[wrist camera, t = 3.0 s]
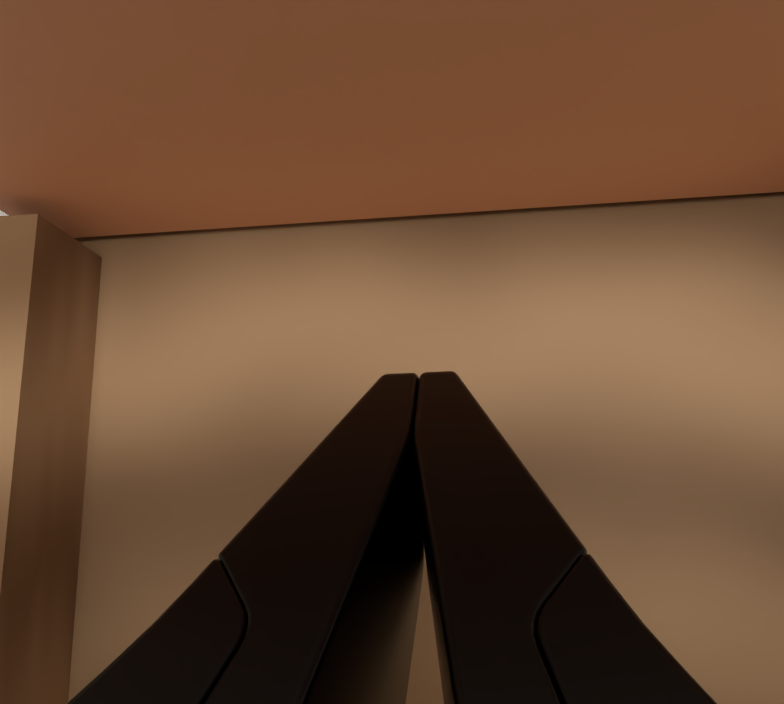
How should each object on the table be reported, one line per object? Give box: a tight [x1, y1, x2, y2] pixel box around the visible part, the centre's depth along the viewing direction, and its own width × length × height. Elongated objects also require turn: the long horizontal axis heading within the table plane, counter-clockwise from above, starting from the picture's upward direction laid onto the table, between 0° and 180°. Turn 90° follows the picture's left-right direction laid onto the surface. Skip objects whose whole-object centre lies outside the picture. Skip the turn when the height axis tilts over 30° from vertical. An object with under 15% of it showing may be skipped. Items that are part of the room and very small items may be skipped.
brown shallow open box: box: [0, 192, 784, 704], centre depth 14 cm, size 16×18×6 cm
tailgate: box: [0, 0, 784, 238], centre depth 11 cm, size 2×18×9 cm, turn 91°
